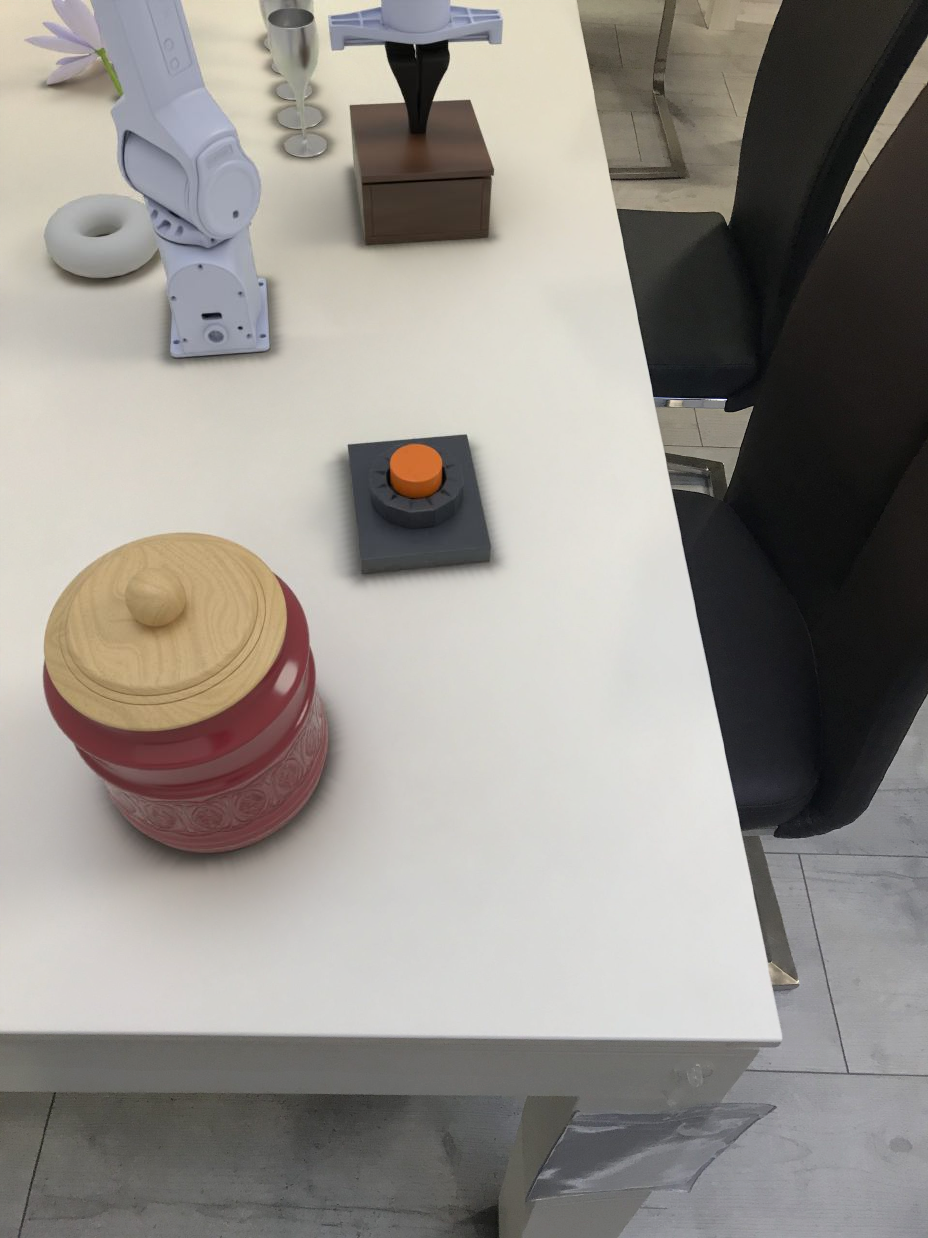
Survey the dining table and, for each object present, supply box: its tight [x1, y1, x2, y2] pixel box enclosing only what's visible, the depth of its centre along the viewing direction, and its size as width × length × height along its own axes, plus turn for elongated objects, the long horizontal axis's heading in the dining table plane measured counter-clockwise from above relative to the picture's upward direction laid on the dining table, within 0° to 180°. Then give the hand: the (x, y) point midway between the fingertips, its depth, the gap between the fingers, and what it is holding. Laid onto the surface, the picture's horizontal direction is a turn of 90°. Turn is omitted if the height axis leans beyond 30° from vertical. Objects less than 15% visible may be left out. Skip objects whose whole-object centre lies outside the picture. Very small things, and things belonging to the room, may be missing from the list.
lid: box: [349, 99, 495, 183], centre depth 83 cm, size 13×12×1 cm
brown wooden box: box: [349, 113, 493, 246], centre depth 86 cm, size 13×12×6 cm
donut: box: [43, 193, 159, 279], centre depth 81 cm, size 10×4×10 cm
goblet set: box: [258, 0, 328, 158], centre depth 95 cm, size 28×6×13 cm, turn 12°
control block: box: [347, 433, 492, 575], centre depth 65 cm, size 11×9×4 cm
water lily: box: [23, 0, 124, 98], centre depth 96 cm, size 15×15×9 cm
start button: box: [390, 444, 442, 498], centre depth 63 cm, size 4×4×2 cm
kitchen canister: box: [42, 532, 329, 854], centre depth 48 cm, size 13×13×18 cm
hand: (417, 127), depth 84 cm, fingers closed, pressing on lid
